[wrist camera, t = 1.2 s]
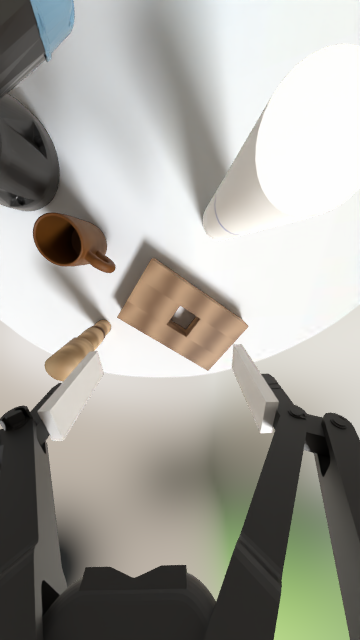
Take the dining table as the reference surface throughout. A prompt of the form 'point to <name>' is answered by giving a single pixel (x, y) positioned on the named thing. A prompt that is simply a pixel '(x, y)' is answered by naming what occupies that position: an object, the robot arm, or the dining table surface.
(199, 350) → the seat board
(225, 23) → the dining table surface
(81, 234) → the mug
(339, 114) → the cylindrical container
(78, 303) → the dining table surface
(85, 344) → the oak peg
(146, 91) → the dining table surface
